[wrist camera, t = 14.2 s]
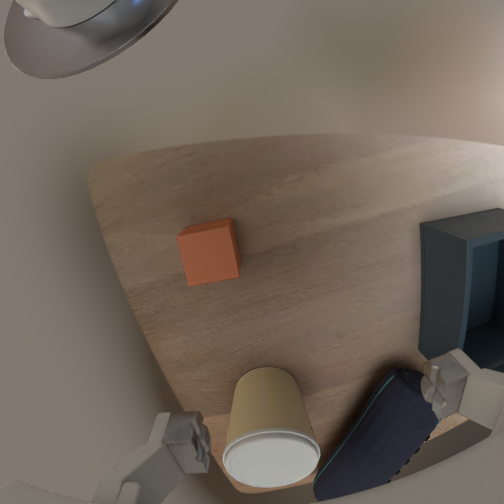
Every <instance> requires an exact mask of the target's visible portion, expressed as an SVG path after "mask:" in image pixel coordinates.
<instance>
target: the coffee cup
mask: <svg viewBox="0 0 504 504" xmlns="http://www.w3.org/2000/svg"><path fill="white" fill-rule="evenodd" d="M319 458H320V447H319V445H318V443H317V441H316V439H315V436H314V433H313V430H312V426H311V423H310V420H309V417H308V414H307V411H306V408H305V405H304V402H303V400H302V397H301V394H300V391H299V388H298V385H297V383H296V381H295V379H294V378H293V377H292V376H291V375H290V374H289V373H288V372H286V371H284V370H282V369H279V368H274V367H262V368H257V369H254V370H251V371H249V372H247V373H246V374H245V375H243V376H242V377H241V378H240V379H239V381H238V383H237V385H236V388H235V392H234V397H233V403H232V409H231V415H230V421H229V427H228V433H227V440H226V447H225V450H224V453H223V464H224V466H225V468H226V469H227V471H228V473H229V474H230V475H231V476H232V477H233V478H234V479H236V480H237V481H239V482H241V483H244V484H247V485H250V486H255V487H280V486H285V485H289V484H292V483H295V482H297V481H300V480H302V479H303V478H305V477H307V476H308V475H309V474H310V473H311V472H312V471H313V470H314V469H315V468H316V466H317V464H318V461H319Z"/></svg>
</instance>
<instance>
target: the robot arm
mask: <svg viewBox="0 0 504 504" xmlns="http://www.w3.org/2000/svg"><path fill="white" fill-rule="evenodd" d="M15 1H16V2H18V3H19V4H20V5H21V6H23V7H24V8H25V9H24V15H25V16H26V17H27V18H30V19H40V20H41V21H43V22H44V23H45V24H46V25H48V26H50V27H55V28H63V27H69V26H73V25H76V24H78V23H81V22H83V21H85V20H87V19H89V18H91V17H93V16H95V15H96V14H98V13H99V12H101V11H102V10H104V9H105V8H106V7H108V6H109V5H110V4H112V3H113V2H114V1H115V0H15ZM423 371H424V373H425V375H424V376H423V377H422V379H421V392H422V395H423V397H424V399H425V400H426V402H429V403H431V404H432V408H431V409H432V411H433V412H434V414H435V415H436V417H437V418H438V420H440V419H443V418H445V417H448V416H450V415H452V414H455V413H457V412H458V414H460V415H462V416H464V417H466V418H468V419H470V420H473V421H474V422H477V423H479V424H481V425H483V426H485V427H487V428H489V429H491V430H493V431H492V433H491V435H490V436H489V437H488V438H486V439H484V440H483V441H481V442H479V443H477V444H475V445H474V446H472V447H470V448H468V449H466V450H464V451H462V452H460V453H458V454H457V455H454V456H452V457H450V458H448V459H446V460H444V461H442V462H440V463H437V464H435V465H433V466H431V467H428V468H426V469H424V470H421V471H419V472H416V473H414V474H411V475H409V476H406V477H404V478H401V479H398V480H395V481H393V482H390V483H387V484H384V485H381V486H378V487H374V488H371V489H368V490H365V491H361V492H358V493H354V494H350V495H346V496H342V497H338V498H334V499H330V500H325V501H321V502H316V503H310V504H504V373H502V372H498V371H494V370H490V369H486V368H483V369H480V368H479V367H478V366H477V365H476V364H475V363H474V362H473V361H472V360H471V359H470V358H469V357H468V356H467V355H466V354H465V353H464V352H463V351H462V350H461V349H459V348H457V349H454V350H452V351H450V352H447V353H445V354H443V355H440V356H438V357H435V358H432V359H430V360H427V361H425V362H424V364H423ZM202 423H203V417H202V415H201V412H199V411H188V412H172V413H159V414H158V415H157V417H156V420H155V423H154V426H153V429H152V432H151V435H150V438H149V441H148V444H143V445H142V446H141V447H140V448H138V449H137V450H136V451H135V452H133V453H132V454H131V455H130V456H128V457H127V458H126V459H124V460H123V461H122V462H121V463H119V464H118V465H117V466H116V467H114V468H113V469H112V470H110V471H109V472H108V473H106V474H105V475H104V476H102V477H101V479H100V481H99V484H98V487H97V489H96V492H95V494H94V497H93V499H92V502H90V501H85V500H81V499H77V498H73V497H69V496H65V495H61V494H57V493H54V492H50V491H48V490H44V489H41V488H38V487H35V486H32V485H30V484H27V483H24V482H21V481H11V482H8V483H6V484H4V485H2V486H0V504H161V503H162V502H163V501H164V499H165V498H166V497H167V496H168V495H169V493H170V492H171V491H172V490H173V489H174V488H175V487H176V485H177V484H178V483H179V482H180V481H181V479H182V478H183V477H184V476H185V474H195V473H208V466H209V457H208V456H207V453H208V452H209V451H210V448H211V440H210V434H209V430H208V428H207V426H205V425H204V424H202Z"/></svg>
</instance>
